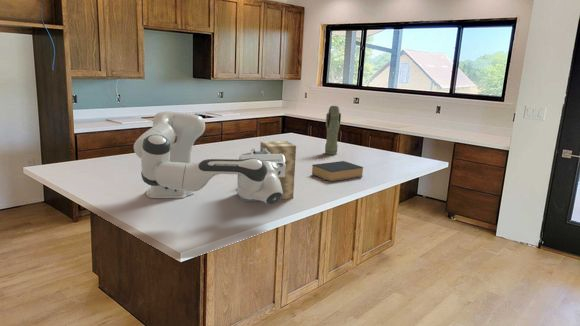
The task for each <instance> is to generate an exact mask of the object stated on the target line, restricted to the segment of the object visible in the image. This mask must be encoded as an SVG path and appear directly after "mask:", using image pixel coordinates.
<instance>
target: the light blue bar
mask: <svg viewBox="0 0 580 326" xmlns="http://www.w3.org/2000/svg"><path fill="white" fill-rule="evenodd" d="M250 154H251V152H247V153H242V154H240V155H250ZM255 154H265V151H260V150H257V151H255Z"/></svg>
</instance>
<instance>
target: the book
mask: <svg viewBox="0 0 580 326" xmlns="http://www.w3.org/2000/svg"><path fill="white" fill-rule="evenodd" d="M311 166H312V167H311V168H312V169H311V175H313V176H315V177H318V178H320V179H322V180H323V179H324V180H325V181H329V182H335V181H341V180H342V181H344V180H348V179H355V178H361V177H363V171H364V166H361V165H359V164H355V163H351V162H348V161H345V160H341V161H333V162H332V161H331V162H326V163H325V162H324V163H316V164H312V165H311Z"/></svg>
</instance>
